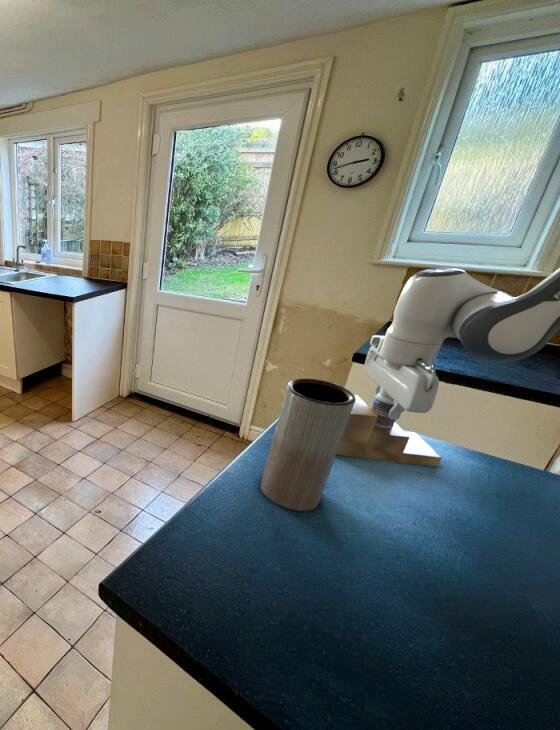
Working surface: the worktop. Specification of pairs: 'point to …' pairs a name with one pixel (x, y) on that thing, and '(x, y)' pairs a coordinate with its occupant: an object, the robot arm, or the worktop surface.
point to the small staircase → (383, 440)
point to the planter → (306, 442)
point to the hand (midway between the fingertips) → (384, 410)
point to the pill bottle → (383, 409)
